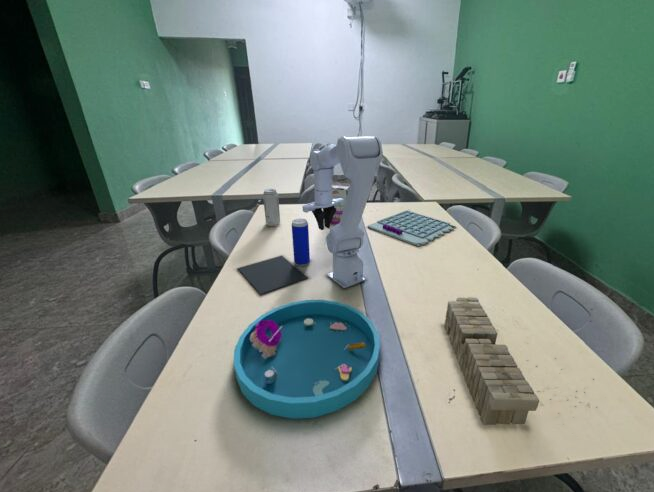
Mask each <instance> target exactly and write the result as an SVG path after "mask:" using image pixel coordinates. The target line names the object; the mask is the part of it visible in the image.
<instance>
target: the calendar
mask: <svg viewBox="0 0 654 492" xmlns="http://www.w3.org/2000/svg"><path fill="white" fill-rule="evenodd" d="M367 228H368V229H370V230H372V231H375V232H378V233H381V234H384V235H386V236H389V237H392V238H394V239H398V240H400V241H402V242H406V243H408V244H410V245H413V246H417V247H420V248H421V246H425V245H426V244H429V243H430V241H434V239H436V238H437V239H438V238H439V237H440V236H444V235H445V233H449V232H450V231H454V228H455V229H456V228H457V225H452V224H451V223H450V222H447V221H445V220H441V219H437V218H433V217H431V216H427V215H424V214H421V213H417V212H413V211H412V210H411V211H410V210H403V211H400V212H398V213H396V214H393V215H390V216H387V217H385V218H383V219H380V220H377V221H376V222H375V223H372V224H368V225H367Z"/></svg>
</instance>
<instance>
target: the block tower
mask: <svg viewBox="0 0 654 492" xmlns="http://www.w3.org/2000/svg"><path fill="white" fill-rule="evenodd" d="M443 327H444V330H445V332H446V334H447V335H449V336H448V340H449V342H450V345H451V347H452V351H453V353H454V355H455V358H456V361H457V364H458V366H459V370H460V372H461V373H462V376H463V379H464V382H465V383H466V387H467V389H468V391H469V395H470V397H471V399H472V402H473V404H474V406H475V409H476V410H477V414H478V416H479V418H480V421H481V424H482V425H483V426H495V425H496V426H497V425H525V424H526V421H527V418H528V415H529V412H530V411H531V412H536V411H537V408H538V406H539V403H540V399H539V397H538V395H537V394H536V393H535V391H534V389H533V387H532V386H531V385H530V383H529V381H528V380H527V379H526V377H525V376H524V374H523V372H522V370H521V369H520V367H518V364H517V362H516V361H515V358H514V357H513V356H512V355H511V353H510V351H509V348H508V346H507V345H506V344H496V342H497V337H498V332H497V330H496V327H495V325H493V323H492V321H491V319H490V318H489V317H488V314H487V312H486V311H485V309H484V307H483V306H482V304H481V303H480V300H479V299H478V297H456V300H448V301H447V305H446V312H445V319H444V325H443Z"/></svg>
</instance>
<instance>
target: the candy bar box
mask: <svg viewBox="0 0 654 492" xmlns="http://www.w3.org/2000/svg"><path fill="white" fill-rule="evenodd" d="M349 187H350V186H347V185H337V184H332V199H338V198H341V199H343V205H337V206H334V207H335V208H336V212H335V214H334V216H333V218H332V221H331V224H333V225H337V224H338V223H340V220H341V216H342V213H343V209H344V205H345V202H346V198H347V194H348V191H349Z"/></svg>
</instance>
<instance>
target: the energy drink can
mask: <svg viewBox="0 0 654 492" xmlns="http://www.w3.org/2000/svg"><path fill="white" fill-rule="evenodd" d="M262 199H263V209H264V219H265V224H266V225H267V226H268V227H276V226H279V225H280V223H281V213H280V203H279V202H280V201H279V193H278V192H277V189H275V188H266V189H264V190H263V194H262Z"/></svg>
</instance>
